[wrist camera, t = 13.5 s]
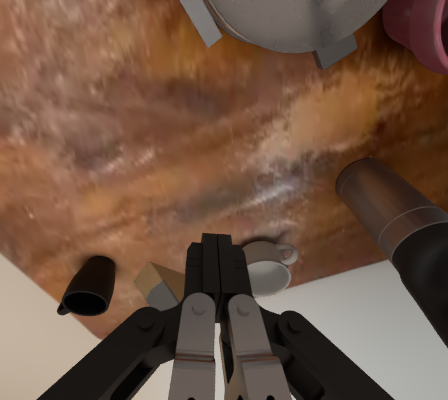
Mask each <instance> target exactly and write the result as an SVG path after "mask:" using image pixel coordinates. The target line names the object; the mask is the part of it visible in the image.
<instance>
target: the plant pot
mask: <svg viewBox="0 0 448 400" xmlns="http://www.w3.org/2000/svg"><path fill="white" fill-rule="evenodd" d="M382 21H383V26H384V29H385V31H386V33H387V35H388V36H389V37H390V38H391V39H392V40H394V41H396V42H398V43H400V44H401V45H403V46H405V47H406V48H408V49H410V50H411V51H413V53H414V55H415V56H416V58H417V59H418V61H419V62H420V63H421V64H422V65H423V66H424V67H426V68H427V69H429V70H431V71H433V72H436V73H440V74H444V75H448V0H387V2H386V3H385V4H384V5H383V11H382Z"/></svg>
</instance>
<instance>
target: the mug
mask: <svg viewBox="0 0 448 400" xmlns="http://www.w3.org/2000/svg"><path fill="white" fill-rule="evenodd" d="M114 284H115V264H114V262H113V261H112V260H111V259H109V258H107V257H104V256H95V257H92V258H90V259H89V260H88V262H87V263H86V264H85V265H84V266H83V267H82V268H81V269H80V270H79V271H78V272H77V274H76V275H75V276H74V278H73V279H72V280H71V282H70V284H69V285H68V287H67V289H66V291H65V293H64V295H63V298H62V302H61V304H60V305H59V307H58V309H57V313H58V314H59V315H65V314H68V313H69V312H72V313H74V314H77V315H82V316H96V315H100V314H102V313H104V312H105V311H107V309H108V307H109V304H110V301H111V298H112V295H113V291H114Z"/></svg>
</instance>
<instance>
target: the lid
mask: <svg viewBox="0 0 448 400" xmlns="http://www.w3.org/2000/svg"><path fill="white" fill-rule="evenodd" d="M211 2H212V4H213V5H214V7H215V9H216V10H217V11H218V13H219V14H220V15H221V17H222V18H223V19H224V20H225V22H226V23H227V24H228V25H229V26H231V27H232V28H233V29H234V30H235V31H236V32H237V33H238V34H240V35H241V36H243V37H244V38H245V39H247V40H249V41H251V42H253V43H254V44H256V45H259V46H261V47H264V48H267V49H270V50H273V51H277V52H283V53H304V52H310V51H315V50H318V49H322V48H325V47H327V46H330V45H332V44H334V43H336V42H339V41H340V40H342V39H344V38H345V37H347V36H349V35H350V34H352V33H353V32H354V31H356V30H357V29H358V28H360V27H361V26H362V25H364V24H365V23H366V22H367V21H368V20H369V19H370V18H371V17H372V16H373V15H375V14H376V13H377V12H378V11H379V9H380V8H381V7H382V6H383V5H384V4H385V3H386V2H387V0H211Z"/></svg>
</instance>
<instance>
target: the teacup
mask: <svg viewBox="0 0 448 400" xmlns="http://www.w3.org/2000/svg"><path fill="white" fill-rule="evenodd" d="M242 249H243V251H244V252H245V256H246V263H247V267H248V272H249V278H250V283H251V289H252V294H253V296H257V297H265V296H271V295H275V294H277V293H279V292H281V291H283V290H284V289H285V288H286V287H287V286H288V285H289V283H290V281H291V274H290V271H289V269H288V266H287V265H289V264H292V263H294V262H295V261H296V260H297V258H298V251H297V249H296V248H295V247H294V246H293V245H290V244H281V245H280V244H273V243H270V242H266V241H256V242H252V243H250V244H248V245H246V246H244V247H243V248H242ZM282 250H291V255H290V257H288V258H286V259H285V257H284V255H283V253H282Z"/></svg>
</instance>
